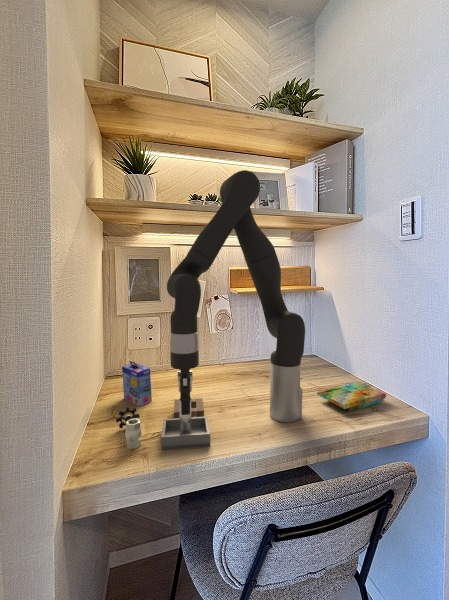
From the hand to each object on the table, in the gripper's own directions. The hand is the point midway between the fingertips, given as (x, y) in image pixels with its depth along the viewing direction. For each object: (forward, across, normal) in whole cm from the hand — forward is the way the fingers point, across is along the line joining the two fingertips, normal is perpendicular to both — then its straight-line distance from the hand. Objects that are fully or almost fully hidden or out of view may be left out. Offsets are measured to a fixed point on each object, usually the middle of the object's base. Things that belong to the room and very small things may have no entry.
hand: (185, 406), depth 83 cm
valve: (+9, +2, +15) cm, 18 cm away
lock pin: (+8, 0, 0) cm, 8 cm away
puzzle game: (+10, +15, -57) cm, 60 cm away
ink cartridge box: (+9, +27, +17) cm, 33 cm away
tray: (+9, 0, 0) cm, 9 cm away
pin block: (+9, +12, -1) cm, 15 cm away
